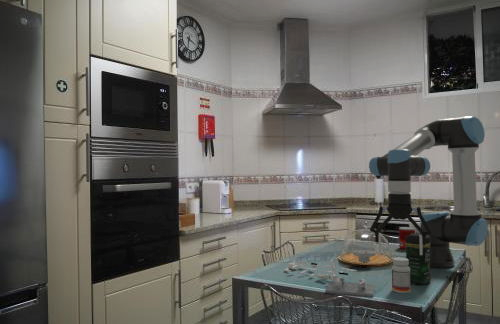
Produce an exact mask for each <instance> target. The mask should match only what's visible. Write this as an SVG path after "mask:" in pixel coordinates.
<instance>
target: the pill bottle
mask: <svg viewBox="0 0 500 324" xmlns="http://www.w3.org/2000/svg"><path fill="white" fill-rule="evenodd" d="M392 264H393V265H392V267H391V290H392V291H393V292H395V293H397V294H408V293H411V292H412V291H411V289H412V288H411V285H412V284H411V282H410V267H409V266H407V265H409V260H408V259H407V258H406V257H401V256H400V257H399V256H398V257H393V259H392Z"/></svg>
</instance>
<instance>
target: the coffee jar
mask: <svg viewBox="0 0 500 324" xmlns="http://www.w3.org/2000/svg"><path fill="white" fill-rule="evenodd" d="M419 235H422V234H421V233H420V232H415V234H410V235H408V236H406V239H405V245H406V250H405V258H407V259H408V260H409V265H407V266H409V267H410V282H411V285H426V284H428V283H430V281H431V279H432V278H431V276H432V275H431V267H430V237H429V236H428V235H426V245H422V254H423V255H420V239H419Z"/></svg>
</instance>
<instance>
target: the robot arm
mask: <svg viewBox="0 0 500 324" xmlns="http://www.w3.org/2000/svg"><path fill="white" fill-rule="evenodd" d="M485 135H486V134H485V129H484V126H483V123H482V121H481V120H480V119H479V118H478V117H476V116H472V115H470V116H466V115H465V116H460V117H459V116H457V117H449V118H442V119H441V118H440V119H437V120H434V121H432V122H430V123H428V124H426V125H424V126H422V127H420V128H419V129H417V130H416V131H415V132H414V134H413V135H412V136H411V137H409V138H407V140H405V141H404V142H402V143H400V144H399V145H398V146H396V147H395V148H393V149H389V150H388V152H387V153H386V154H384V155H382V156H377V157H372V158H371V159H370V160H369V163H368V170H369V172H370V173H371V175H372V176H380V177H388V178H387V180H388V181H387V191H388V194H387V197H388V198H387V199H388V201H387V203H388V205H387V206H383V205H380V206H379V208H378V213H377V215H376V217H375V219H374V221H373V222H372V224H371V227H370V228H369V232H371V233H374V235H375V236H374V238H375V243H378V253H380V254H381V253H382V233H380V232H381V231H382V230H383V229H384V228H385V227H386V226H387V224H388V223H389V222H390V221H391V220H393V219H394V220H403V221H404V220H408V221H409V222H410V223H411V225H413V227H414V228H415V230H417V231H418V233H421V234H422V235H419V239H420V255H423V254H422V245H426V235H428V236H429V237H430V268H439V269H440V268H441V269H442V268H444V269H445V268H451V267H454V266H455V259H454V257H453V254H452V250H451V249H450V244H459V245H464V246H468V247H470V246H474V247H478V246H481V245H483V243H484V242H485V240H486V238H487V235H488V232H489V231H488V230H489V226H488V221H487V220H486V219H485V218H483V217H482V212H480V211H479V210H478V204H477V203H478V201H477V177H476V175H477V174H476V172H477V171H476V152H477V151H478V149H480V144H482V143H484V140H485ZM438 146H439V147H440V146H441V147H442V146H447V150H448V151H450V153H451V157H452V158H451V163H452V188H453V189H452V190H453V209H452V210H451V211H450V212H448V211H440V212H439V211H438V212H437V211H436V212H428V213H427V212H426V213H422V210H421V207H419V206H417V207H412V197H411V196H412V195H411V190H412V189H411V187H412V184H411V183H412V181H411V177H422V176H425V175H427V174H428V173H429V172H430V169H431V162H430V160H429V159H428V158H427V157H426V156H421V155H419V154H420V153H422V152H424V151H425V150H429V149H430V150H431V148H432V149H433V147H438ZM386 211H387V212H388V214H389V215H388V216H387V217H386V219H384V220H383V222H381V224H380V225H378V223H379V221H380V219H381V217H382V215H383V214H384V213H386ZM412 212H414V213H415V214H417V217H418V218H419V220H420V223H419V224H418V223H417V222H416V221H415V219H413V217H412V216H411V214H412ZM377 225H378V227H377V228H376V226H377Z"/></svg>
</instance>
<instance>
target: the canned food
mask: <svg viewBox="0 0 500 324" xmlns="http://www.w3.org/2000/svg"><path fill="white" fill-rule="evenodd" d="M398 233H399V234H398V239H399V240H398V241H399V242H398V243H399V247H398V248H399V249H401V250H405V251H406V245H405V239H406V236H408V235H410V234H415V233H416V228H415V227H408V226H399V228H398Z"/></svg>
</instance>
